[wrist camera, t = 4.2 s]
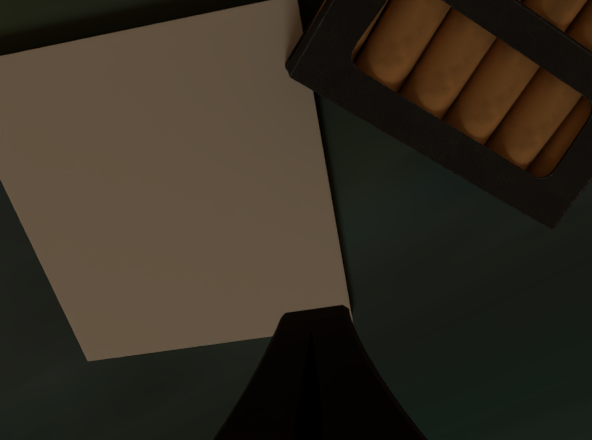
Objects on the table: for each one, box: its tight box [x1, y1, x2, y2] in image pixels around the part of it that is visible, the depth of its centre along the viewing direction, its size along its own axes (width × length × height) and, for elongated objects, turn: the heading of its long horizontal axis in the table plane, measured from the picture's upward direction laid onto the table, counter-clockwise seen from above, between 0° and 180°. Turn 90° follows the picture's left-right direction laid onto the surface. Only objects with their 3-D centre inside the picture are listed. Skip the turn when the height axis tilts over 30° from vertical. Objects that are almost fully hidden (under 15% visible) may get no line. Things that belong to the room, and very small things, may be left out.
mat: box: [0, 0, 353, 361], centre depth 19 cm, size 12×13×1 cm
